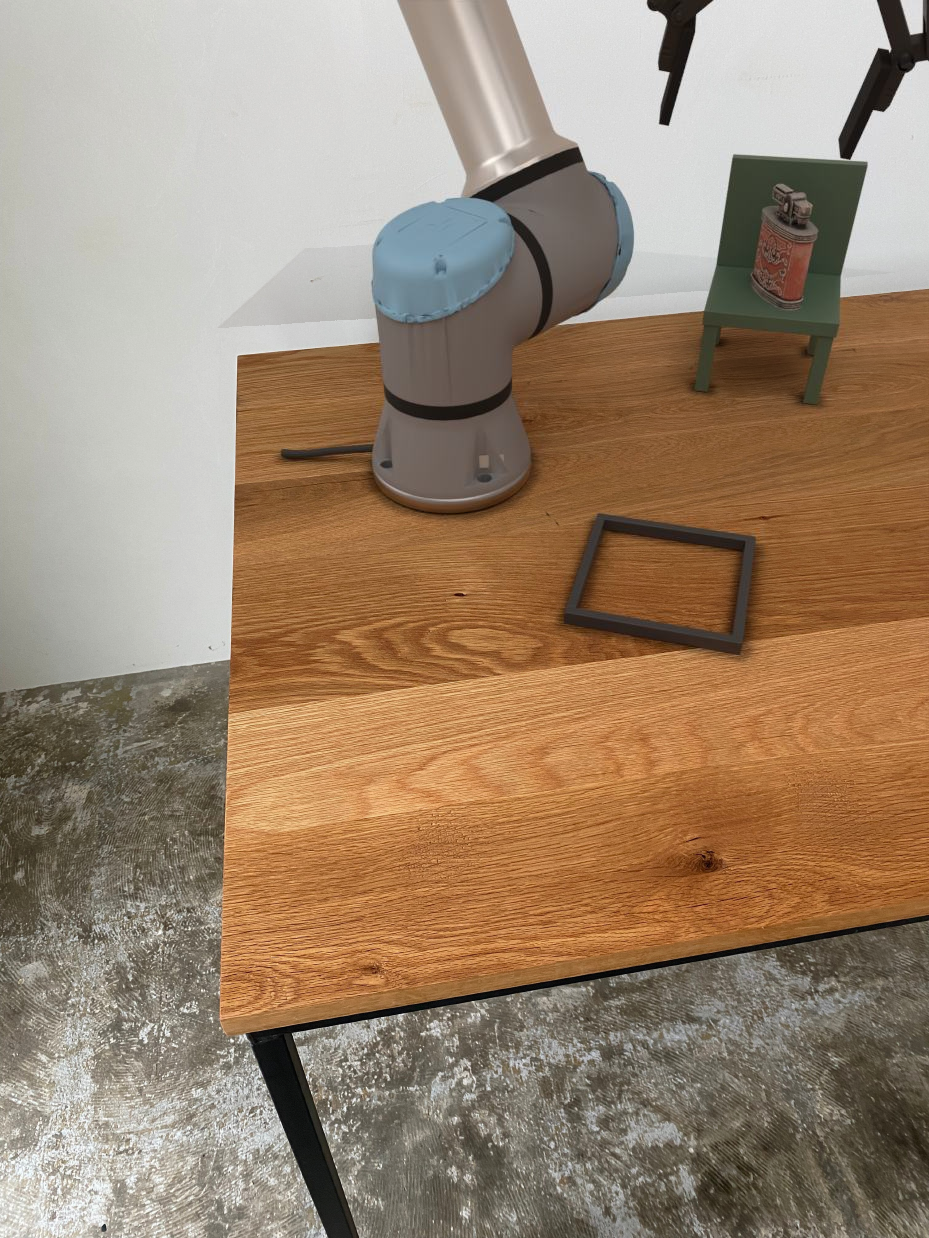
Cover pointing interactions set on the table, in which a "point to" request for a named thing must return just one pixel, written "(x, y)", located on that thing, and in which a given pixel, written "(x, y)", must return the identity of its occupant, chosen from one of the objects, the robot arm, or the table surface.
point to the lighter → (784, 249)
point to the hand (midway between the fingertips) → (754, 133)
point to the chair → (730, 292)
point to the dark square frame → (659, 629)
